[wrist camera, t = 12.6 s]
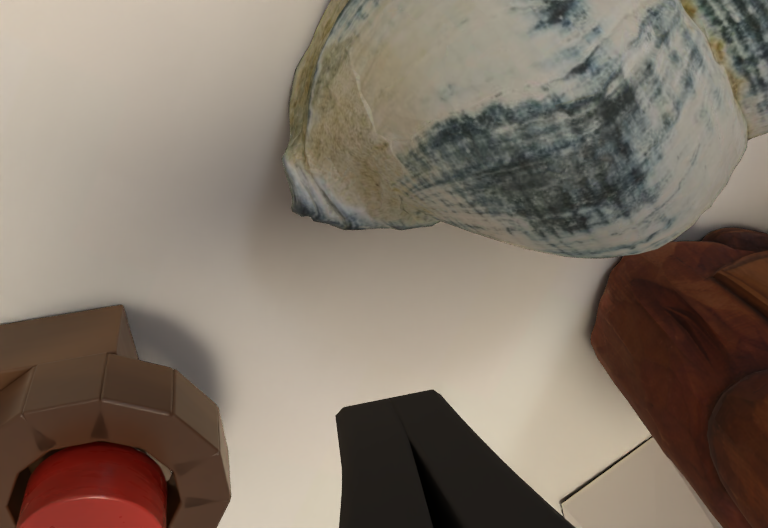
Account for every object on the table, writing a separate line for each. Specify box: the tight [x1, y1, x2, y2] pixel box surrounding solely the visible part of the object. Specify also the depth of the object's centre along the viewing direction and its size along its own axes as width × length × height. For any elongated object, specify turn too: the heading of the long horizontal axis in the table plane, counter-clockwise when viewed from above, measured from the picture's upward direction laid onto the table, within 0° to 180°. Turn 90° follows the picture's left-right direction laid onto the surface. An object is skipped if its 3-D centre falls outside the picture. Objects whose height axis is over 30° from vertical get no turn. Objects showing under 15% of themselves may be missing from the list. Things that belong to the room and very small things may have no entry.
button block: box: [0, 305, 231, 528], centre depth 19 cm, size 10×8×4 cm
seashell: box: [282, 0, 768, 258], centre depth 16 cm, size 6×8×12 cm
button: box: [16, 442, 167, 528], centre depth 17 cm, size 3×3×2 cm
